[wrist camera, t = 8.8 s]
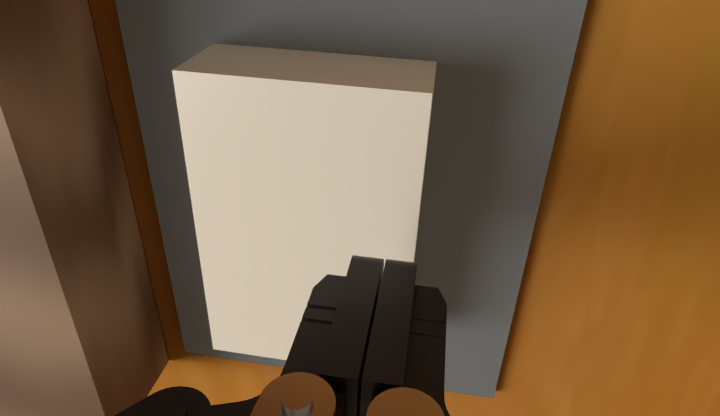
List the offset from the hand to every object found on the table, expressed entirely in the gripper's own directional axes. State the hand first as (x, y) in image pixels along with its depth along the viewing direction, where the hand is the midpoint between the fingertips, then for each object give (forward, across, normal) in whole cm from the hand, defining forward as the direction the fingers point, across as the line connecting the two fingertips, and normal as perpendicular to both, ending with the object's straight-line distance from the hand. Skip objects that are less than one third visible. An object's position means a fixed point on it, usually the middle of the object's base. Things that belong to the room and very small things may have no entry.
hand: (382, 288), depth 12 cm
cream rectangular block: (+3, +2, 0) cm, 4 cm away
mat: (+4, +2, 0) cm, 5 cm away
